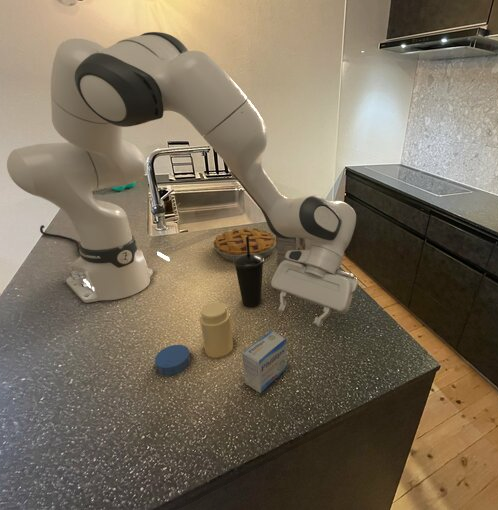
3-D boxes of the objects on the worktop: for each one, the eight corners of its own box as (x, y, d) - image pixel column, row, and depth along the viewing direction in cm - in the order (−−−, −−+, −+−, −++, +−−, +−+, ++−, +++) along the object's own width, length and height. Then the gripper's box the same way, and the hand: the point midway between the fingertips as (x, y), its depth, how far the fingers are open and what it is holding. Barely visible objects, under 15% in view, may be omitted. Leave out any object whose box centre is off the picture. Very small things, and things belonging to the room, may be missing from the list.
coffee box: (286, 267, 104) (286, 223, 96) (304, 270, 103) (306, 226, 95) (276, 280, 96) (275, 234, 88) (296, 284, 95) (296, 237, 87)
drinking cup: (240, 313, 80) (234, 245, 71) (235, 298, 86) (228, 233, 77) (269, 307, 84) (266, 241, 74) (261, 292, 89) (258, 229, 80)
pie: (264, 234, 126) (263, 222, 124) (285, 256, 110) (285, 244, 108) (208, 243, 115) (206, 230, 113) (222, 269, 99) (221, 256, 97)
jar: (199, 354, 67) (192, 315, 62) (214, 336, 72) (208, 298, 67) (224, 360, 66) (219, 320, 61) (237, 341, 71) (234, 303, 66)
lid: (173, 379, 61) (171, 371, 60) (149, 368, 63) (147, 361, 62) (197, 358, 66) (195, 350, 65) (175, 348, 68) (173, 341, 67)
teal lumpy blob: (107, 190, 160) (102, 171, 155) (122, 185, 168) (117, 167, 164) (124, 192, 159) (119, 173, 154) (138, 188, 167) (134, 169, 163)
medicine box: (260, 394, 59) (258, 362, 55) (244, 383, 61) (241, 351, 57) (287, 368, 65) (287, 338, 61) (271, 359, 67) (270, 329, 63)
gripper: (363, 280, 73) (342, 336, 69) (291, 258, 80) (269, 307, 77) (358, 272, 67) (335, 332, 64) (281, 249, 75) (257, 302, 71)
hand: (298, 318), depth 70 cm, fingers open, 8 cm apart
